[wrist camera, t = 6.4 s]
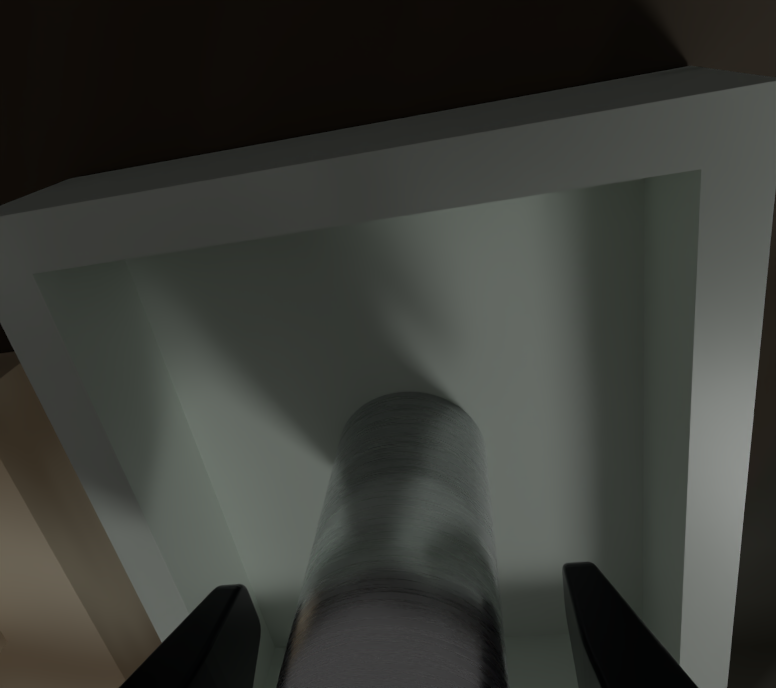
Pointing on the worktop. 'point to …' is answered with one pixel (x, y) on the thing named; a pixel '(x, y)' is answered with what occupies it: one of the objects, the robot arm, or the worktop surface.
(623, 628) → the robot arm
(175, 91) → the worktop surface
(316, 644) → the lock pin
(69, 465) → the block
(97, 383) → the tray
